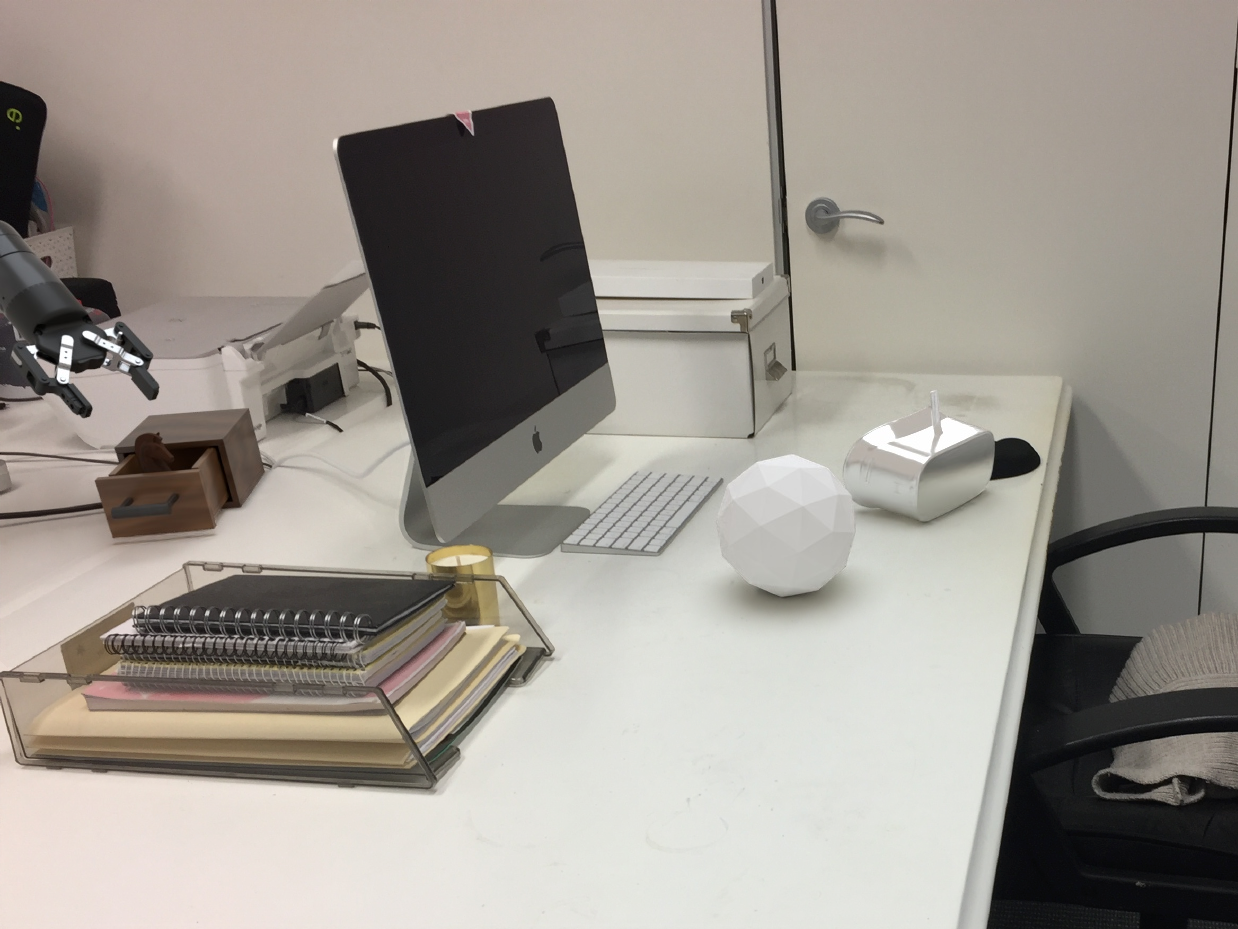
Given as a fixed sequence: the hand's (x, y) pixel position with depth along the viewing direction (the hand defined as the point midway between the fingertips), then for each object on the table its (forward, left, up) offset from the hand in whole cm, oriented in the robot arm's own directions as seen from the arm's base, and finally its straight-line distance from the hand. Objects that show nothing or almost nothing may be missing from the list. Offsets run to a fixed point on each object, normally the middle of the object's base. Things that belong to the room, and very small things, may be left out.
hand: (122, 404), depth 150 cm
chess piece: (+3, -3, -13) cm, 14 cm away
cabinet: (+3, +9, -15) cm, 18 cm away
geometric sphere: (+74, -42, -15) cm, 87 cm away
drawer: (+3, -4, -14) cm, 15 cm away
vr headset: (+95, -19, -15) cm, 98 cm away
